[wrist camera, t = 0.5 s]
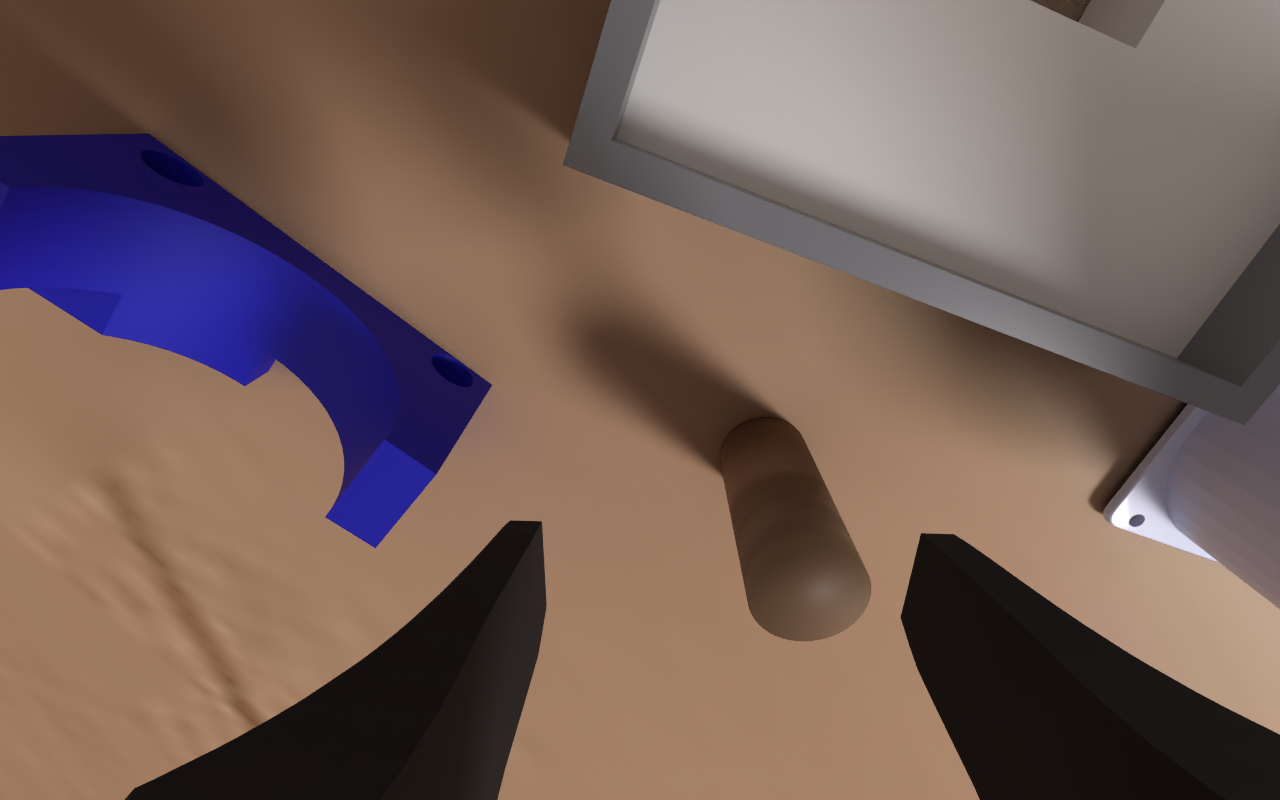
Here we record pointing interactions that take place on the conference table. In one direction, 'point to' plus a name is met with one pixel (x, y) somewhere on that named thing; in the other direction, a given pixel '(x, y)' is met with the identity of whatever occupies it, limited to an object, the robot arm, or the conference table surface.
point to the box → (981, 162)
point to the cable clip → (231, 303)
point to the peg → (790, 535)
